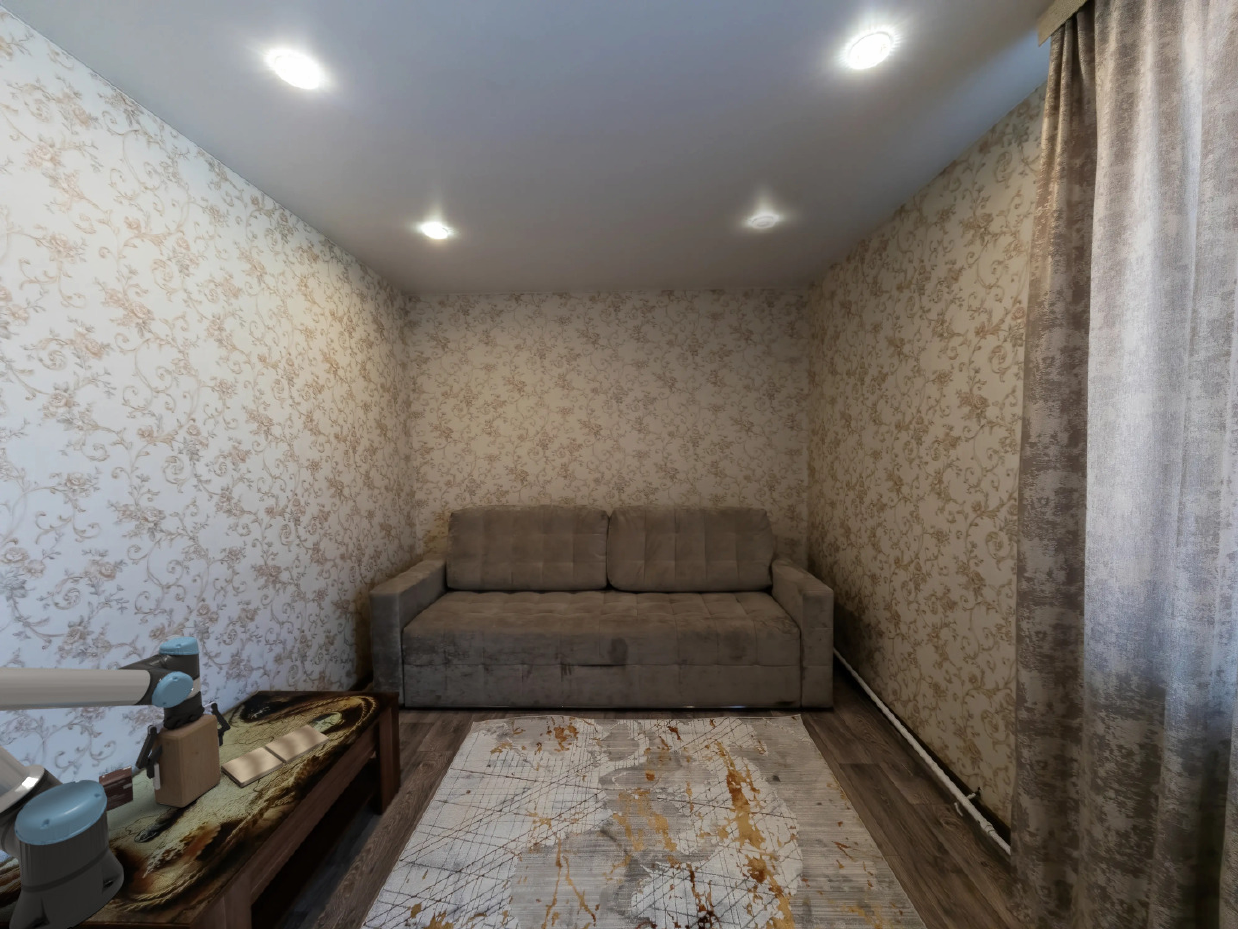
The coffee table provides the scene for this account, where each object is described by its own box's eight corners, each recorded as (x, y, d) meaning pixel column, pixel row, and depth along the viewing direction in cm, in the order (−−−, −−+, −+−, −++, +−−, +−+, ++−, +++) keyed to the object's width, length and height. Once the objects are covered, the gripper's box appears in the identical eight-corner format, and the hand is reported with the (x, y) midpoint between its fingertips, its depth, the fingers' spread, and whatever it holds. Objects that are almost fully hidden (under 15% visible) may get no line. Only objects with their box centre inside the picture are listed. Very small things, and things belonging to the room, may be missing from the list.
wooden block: (182, 810, 119) (177, 736, 118) (153, 804, 121) (148, 732, 120) (222, 782, 129) (218, 713, 128) (194, 777, 131) (190, 710, 130)
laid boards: (286, 764, 136) (286, 760, 136) (265, 748, 143) (265, 745, 143) (329, 741, 146) (329, 738, 146) (307, 727, 153) (307, 724, 153)
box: (99, 815, 118) (97, 787, 118) (100, 802, 122) (98, 776, 122) (133, 801, 123) (131, 775, 122) (133, 789, 127) (131, 764, 127)
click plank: (241, 787, 127) (241, 783, 126) (221, 769, 134) (221, 765, 134) (282, 766, 135) (282, 762, 135) (261, 750, 142) (261, 746, 142)
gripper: (122, 723, 112) (129, 808, 113) (242, 679, 132) (246, 751, 133) (114, 714, 116) (120, 796, 117) (231, 672, 136) (235, 743, 137)
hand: (187, 772), depth 125 cm, fingers closed on wooden block, 12 cm apart
